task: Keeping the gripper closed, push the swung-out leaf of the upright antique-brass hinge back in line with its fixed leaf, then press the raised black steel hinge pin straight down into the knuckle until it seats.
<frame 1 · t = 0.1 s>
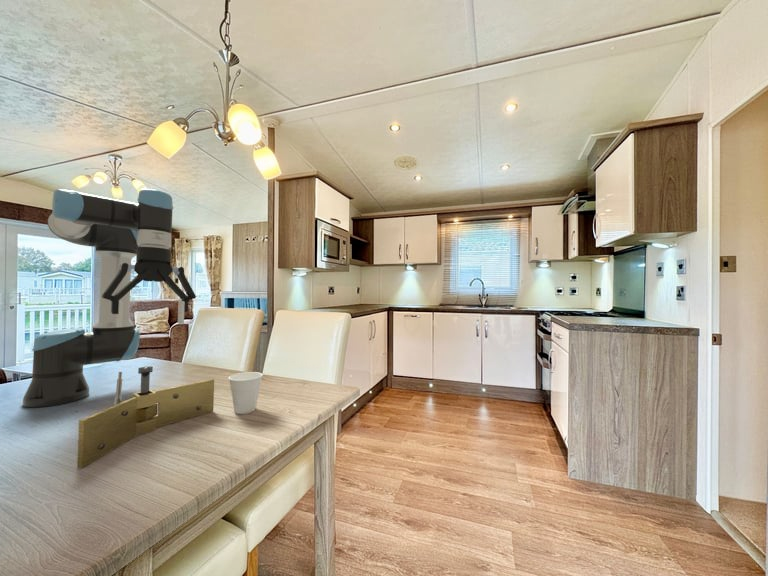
hand: (152, 325, 81), 28 cm above the table, fingers open, 13 cm apart
moving leaf: (119, 424, 72), point 5 cm above the table, hinge at 40.0°
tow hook: (129, 411, 93), on the table
cup: (245, 411, 94), on the table
pin: (145, 387, 80), point 11 cm above the table, slide at 5.5 cm
fixed leaf: (143, 430, 79), on the table
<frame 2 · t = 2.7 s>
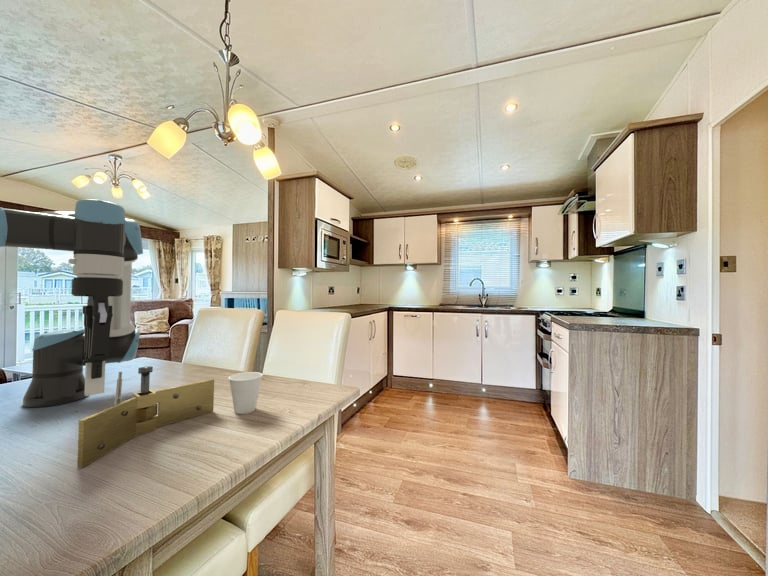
hand: (94, 393, 60), 17 cm above the table, fingers closed
nothing on the table moved.
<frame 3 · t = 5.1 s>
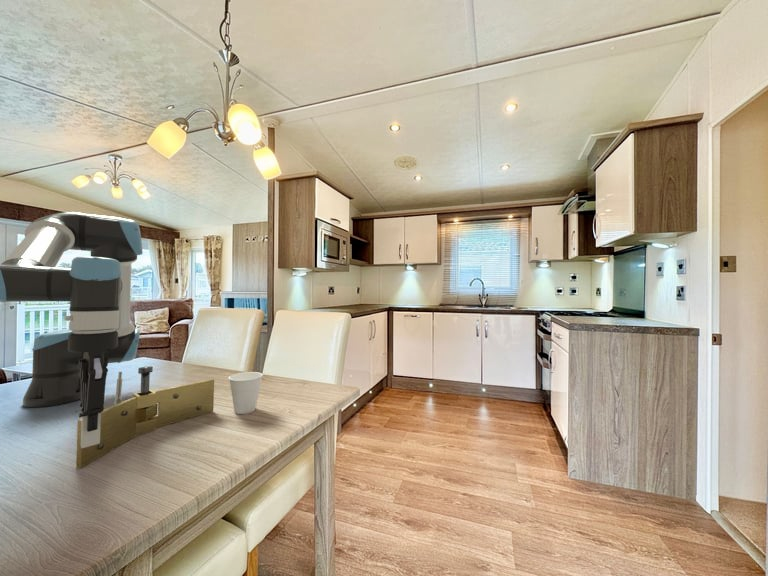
hand: (90, 444, 62), 5 cm above the table, fingers closed
moving leaf: (119, 424, 72), point 5 cm above the table, hinge at 39.1°, touching gripper
everything else where it was.
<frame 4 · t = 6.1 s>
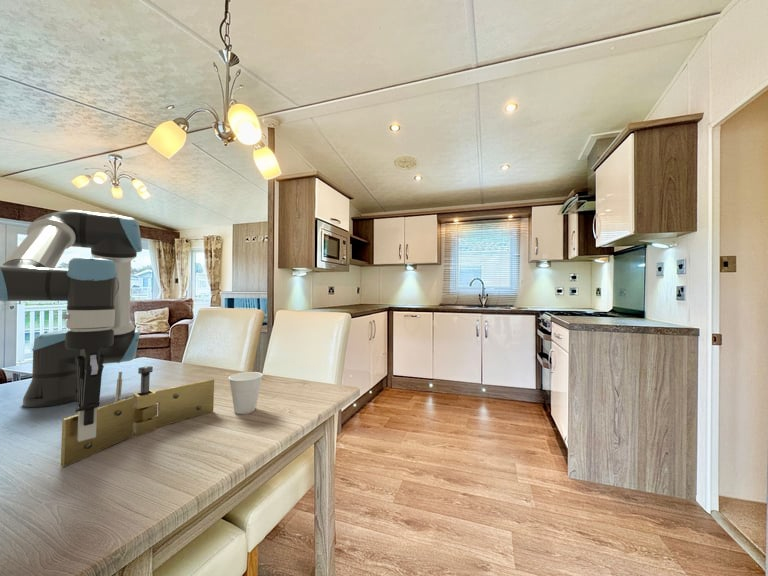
hand: (86, 438, 64), 5 cm above the table, fingers closed
moving leaf: (113, 423, 72), point 5 cm above the table, hinge at 26.5°, touching gripper
everything else where it was.
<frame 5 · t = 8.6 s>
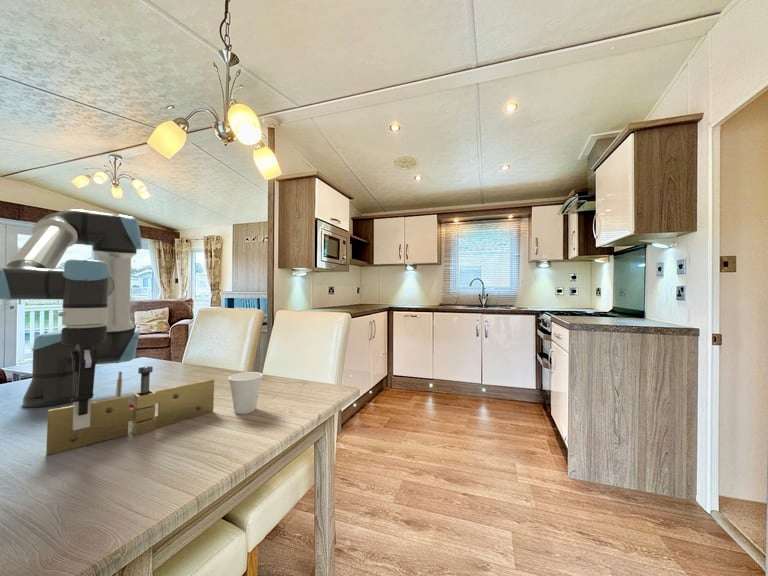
hand: (81, 427, 69), 5 cm above the table, fingers closed
moving leaf: (105, 419, 74), point 5 cm above the table, hinge at -5.7°, touching gripper
everything else where it was.
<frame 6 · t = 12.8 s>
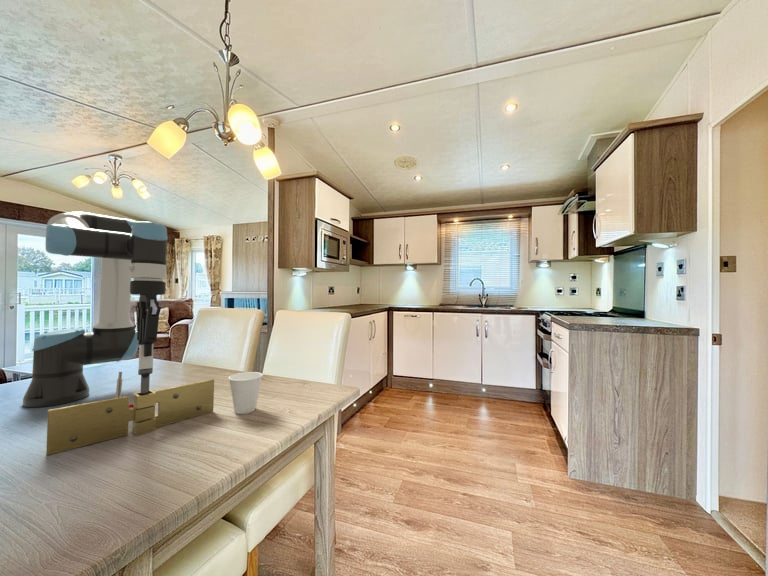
hand: (145, 368, 80), 17 cm above the table, fingers closed
moving leaf: (105, 419, 74), point 5 cm above the table, hinge at -5.9°
pin: (145, 389, 80), point 11 cm above the table, slide at 5.2 cm, touching gripper
everything else where it was.
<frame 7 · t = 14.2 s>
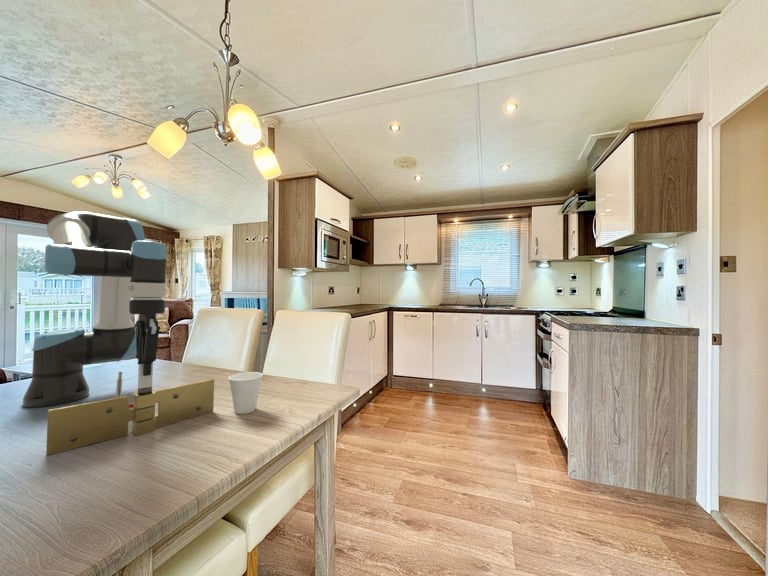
hand: (145, 387, 80), 12 cm above the table, fingers closed
pin: (144, 408, 80), point 6 cm above the table, slide at 0.1 cm, touching gripper
everything else where it was.
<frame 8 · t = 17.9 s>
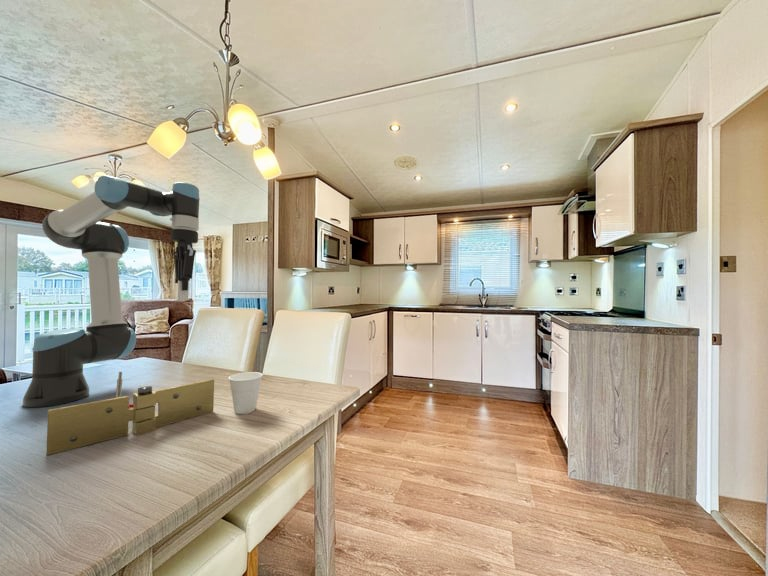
hand: (182, 300, 100), 34 cm above the table, fingers closed
pin: (144, 408, 80), point 6 cm above the table, slide at 0.1 cm
everything else where it was.
at the end: moving leaf at -6° (first picture: +40°); pin slide at 0.1 cm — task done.
